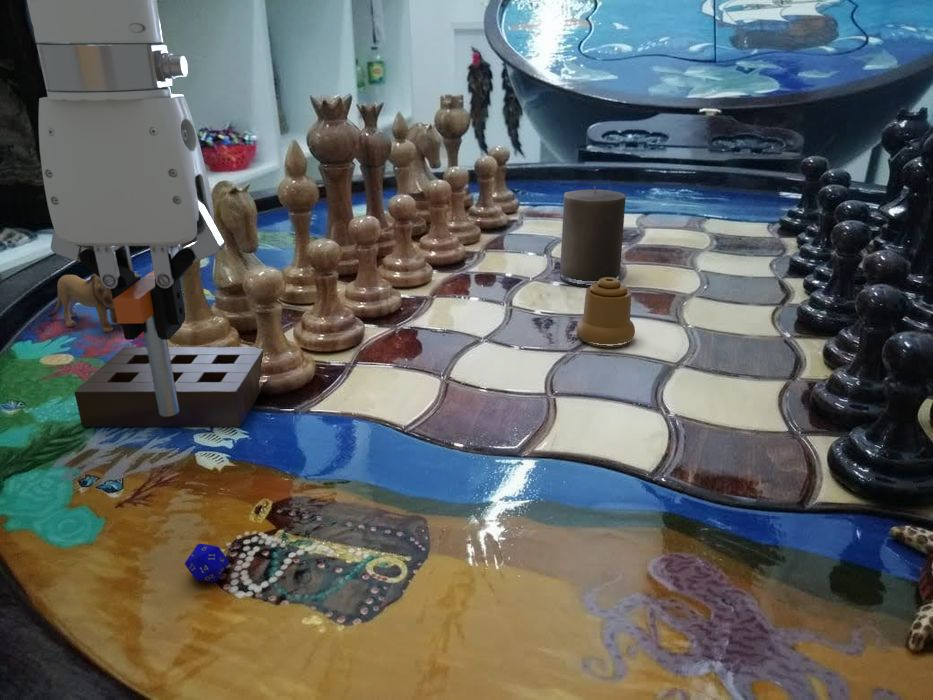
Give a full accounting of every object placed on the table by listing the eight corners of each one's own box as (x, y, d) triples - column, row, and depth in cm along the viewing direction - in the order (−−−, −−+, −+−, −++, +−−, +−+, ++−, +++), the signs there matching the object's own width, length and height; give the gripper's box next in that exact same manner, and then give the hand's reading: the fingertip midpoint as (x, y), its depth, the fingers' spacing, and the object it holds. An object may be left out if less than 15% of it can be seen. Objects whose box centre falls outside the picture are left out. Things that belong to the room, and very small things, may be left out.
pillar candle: (614, 290, 114) (622, 194, 108) (553, 284, 117) (557, 189, 111) (623, 273, 123) (631, 182, 117) (565, 267, 125) (570, 179, 120)
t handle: (140, 434, 55) (112, 299, 51) (174, 393, 61) (152, 270, 57) (164, 434, 55) (138, 299, 51) (195, 392, 61) (175, 270, 57)
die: (237, 576, 54) (219, 566, 51) (203, 593, 53) (184, 583, 51) (227, 543, 55) (210, 531, 52) (195, 559, 55) (176, 548, 52)
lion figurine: (154, 321, 102) (143, 258, 98) (131, 335, 97) (118, 269, 93) (60, 314, 104) (46, 252, 101) (33, 327, 99) (17, 263, 96)
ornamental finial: (633, 330, 98) (634, 351, 92) (578, 326, 100) (574, 347, 93) (639, 273, 95) (640, 290, 89) (581, 269, 97) (577, 287, 90)
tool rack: (240, 427, 74) (235, 391, 72) (82, 427, 74) (73, 391, 72) (268, 378, 84) (264, 346, 83) (129, 379, 84) (123, 347, 83)
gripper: (242, 71, 52) (270, 315, 59) (19, 72, 52) (74, 316, 59) (208, 76, 45) (245, 352, 52) (-49, 77, 45) (23, 353, 52)
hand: (154, 331), depth 56 cm, fingers closed on t handle, 1 cm apart
